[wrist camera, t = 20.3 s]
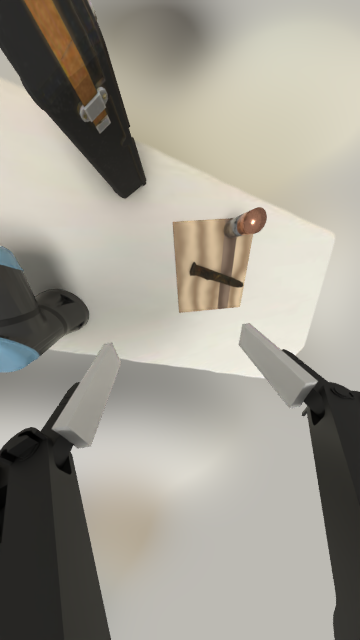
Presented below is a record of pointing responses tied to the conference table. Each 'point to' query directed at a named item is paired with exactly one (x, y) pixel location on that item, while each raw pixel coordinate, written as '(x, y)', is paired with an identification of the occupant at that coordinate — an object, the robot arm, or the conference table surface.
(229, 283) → the hand tool
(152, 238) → the conference table surface
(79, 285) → the conference table surface
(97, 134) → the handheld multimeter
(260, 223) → the copper and grey cylinder
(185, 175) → the conference table surface
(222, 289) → the plywood sheet
